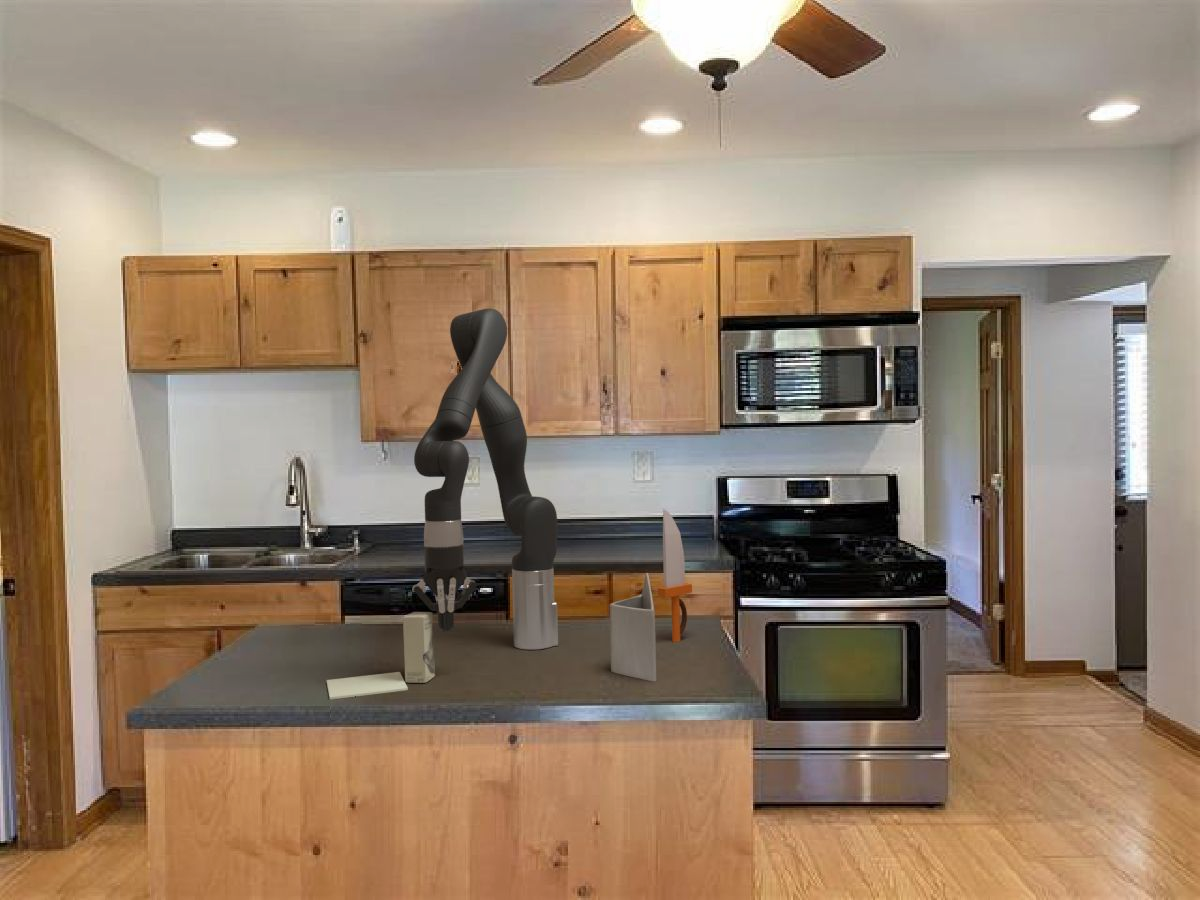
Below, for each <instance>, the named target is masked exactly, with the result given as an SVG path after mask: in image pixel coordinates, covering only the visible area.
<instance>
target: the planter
mask: <svg viewBox="0 0 1200 900" xmlns="http://www.w3.org/2000/svg"><path fill="white" fill-rule="evenodd" d="M644 577H645V578H644V584H643V587H642V591H641V593H640V594H639V595H637V596H633V597H629V598H626V599H621V600H618V601H615V602H611V603H610V604H609V637H610V638H609V639H610V670H611V673H615V674H617V675H622V676H625V677H631V678H635V679H640V680H643V681H648V682H653V683H654V682H655V683H656V682H657V656H656V654H657V653H656V651H657V650H656V649H657V648H656V645H657V644H656V618H655V617H656V615H655V614H656V613H655V607H654V600H653V594H652V593H653V592H652V589H651V588H652V587H651V582H650V576H649V573H648V572H646V573H645V576H644Z"/></svg>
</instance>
